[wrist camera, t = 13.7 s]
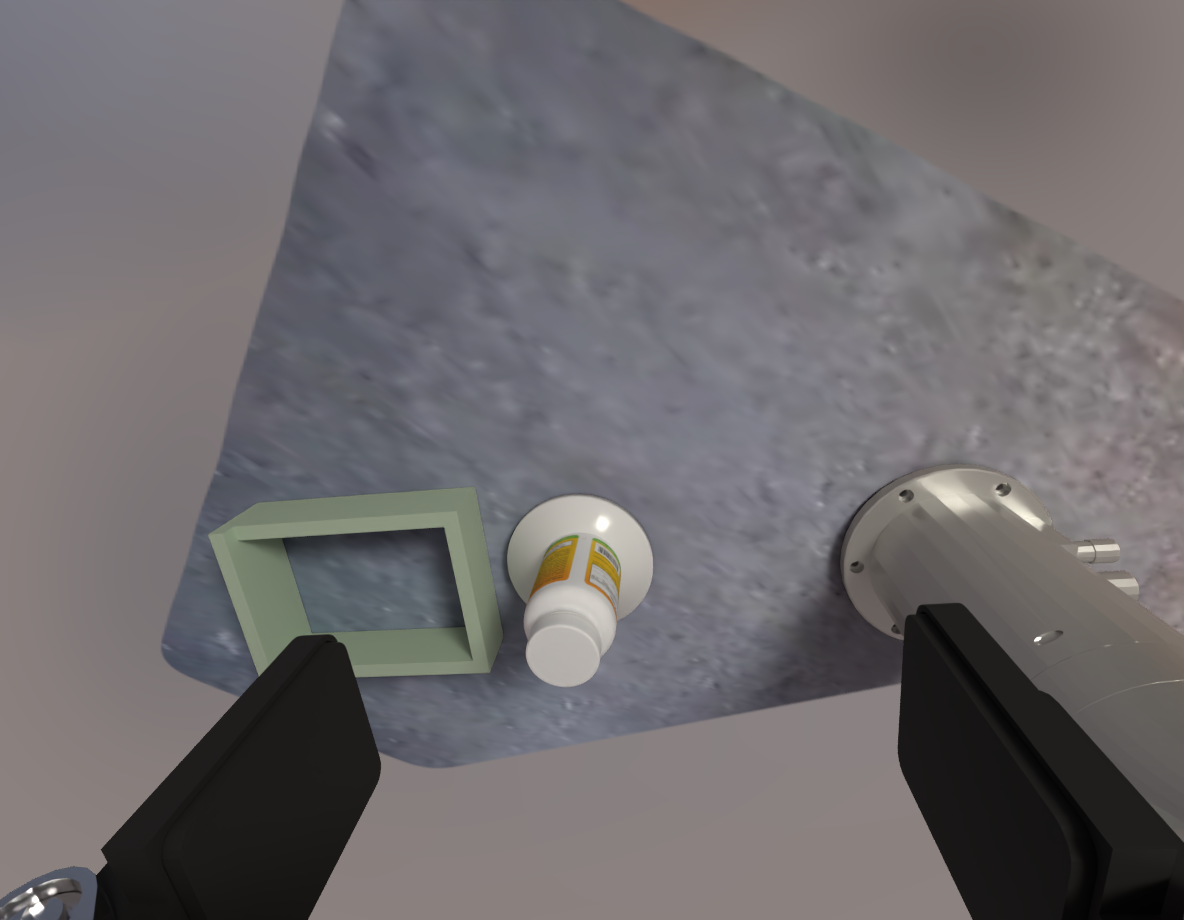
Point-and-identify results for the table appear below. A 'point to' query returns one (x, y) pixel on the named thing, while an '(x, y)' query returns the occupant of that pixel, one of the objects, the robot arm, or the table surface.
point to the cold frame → (263, 564)
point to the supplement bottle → (572, 609)
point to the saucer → (586, 518)
